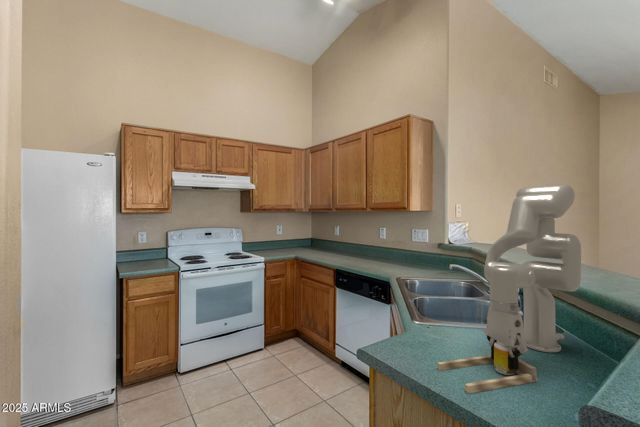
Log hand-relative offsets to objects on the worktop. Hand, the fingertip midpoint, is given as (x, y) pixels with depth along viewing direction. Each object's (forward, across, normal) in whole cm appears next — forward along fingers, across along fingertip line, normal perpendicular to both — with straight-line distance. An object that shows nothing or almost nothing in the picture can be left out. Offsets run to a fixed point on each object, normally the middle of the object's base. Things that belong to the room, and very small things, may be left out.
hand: (504, 363), depth 91 cm
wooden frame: (+3, 0, +7) cm, 8 cm away
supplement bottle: (+3, 0, 0) cm, 3 cm away
